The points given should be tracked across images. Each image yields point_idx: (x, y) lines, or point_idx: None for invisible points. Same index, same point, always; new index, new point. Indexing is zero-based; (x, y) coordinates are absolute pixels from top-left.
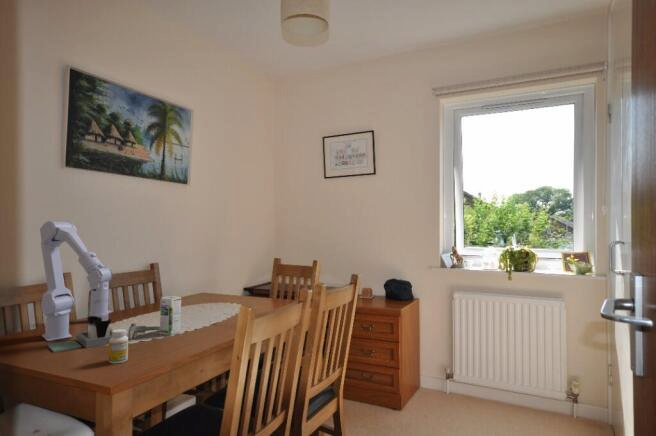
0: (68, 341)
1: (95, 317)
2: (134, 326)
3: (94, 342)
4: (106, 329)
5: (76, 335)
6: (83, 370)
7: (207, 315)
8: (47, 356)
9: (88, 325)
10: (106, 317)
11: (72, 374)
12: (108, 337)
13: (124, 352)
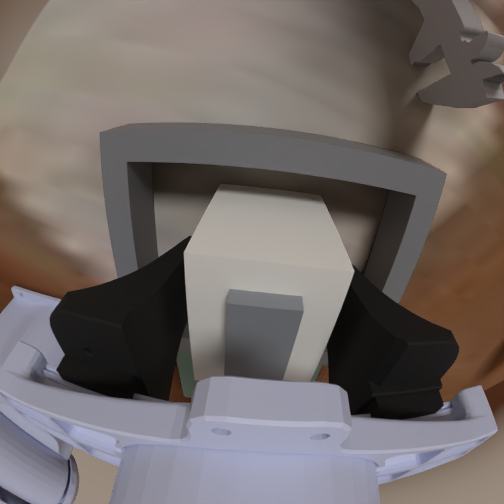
0: (190, 357)
1: (151, 391)
2: (494, 60)
3: None
4: (379, 294)
5: None
6: (501, 366)
7: None
8: None
9: (203, 379)
10: (481, 421)
11: (492, 381)
12: (414, 265)
13: None
